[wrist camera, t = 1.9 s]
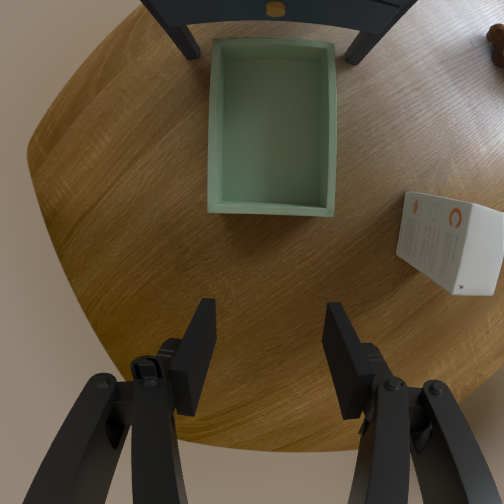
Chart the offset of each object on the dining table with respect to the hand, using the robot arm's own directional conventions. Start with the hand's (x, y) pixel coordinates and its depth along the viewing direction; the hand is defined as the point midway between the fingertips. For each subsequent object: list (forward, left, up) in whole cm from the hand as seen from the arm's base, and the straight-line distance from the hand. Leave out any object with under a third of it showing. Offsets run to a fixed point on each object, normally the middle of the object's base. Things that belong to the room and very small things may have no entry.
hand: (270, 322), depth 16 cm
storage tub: (-14, 0, -17) cm, 22 cm away
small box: (-4, +19, -17) cm, 26 cm away
